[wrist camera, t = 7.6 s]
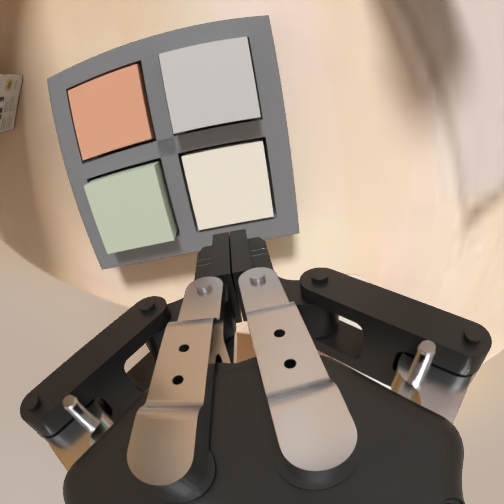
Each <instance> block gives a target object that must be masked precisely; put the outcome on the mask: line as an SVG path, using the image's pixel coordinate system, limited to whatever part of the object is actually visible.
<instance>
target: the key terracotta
mask: <svg viewBox="0 0 504 504" xmlns="http://www.w3.org/2000/svg"><path fill="white" fill-rule="evenodd" d="M68 95H69V101H70V106H71V111H72V116H73V121H74V126H75V130H76V134H77V139H78V143H79V147H80V151H81V155H82V159H83V160H86V159H88V158H91V157H94V156H97V155H100V154H103V153H106V152H109V151H112V150H115V149H118V148H121V147H125V146H128V145H131V144H135V143H138V142H142V141H145V140H149V139H152V138H154V137H156V135H155V130H154V126H153V121H152V116H151V111H150V106H149V101H148V96H147V91H146V86H145V80H144V75H143V69H142V66H141V65H139V64H135V65H132V66H129V67H126V68H123V69H120V70H117V71H114V72H112V73H109V74H106V75H104V76H101V77H99V78H96V79H94V80H91V81H89V82H87V83H84V84H82V85H80V86H77V87H75V88H73V89H71V90H69V91H68Z"/></svg>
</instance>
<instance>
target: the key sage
mask: <svg viewBox="0 0 504 504" xmlns="http://www.w3.org/2000/svg"><path fill="white" fill-rule="evenodd" d="M84 189H85V192H86V195H87V198H88V201H89V204H90V207H91V210H92V213H93V216H94V219H95V222H96V225H97V228H98V230H99V233H100V236H101V238H102V241H103V244H104V246H105V249H106V251H107V254H111V253H115V252H120V251H125V250H129V249H134V248H139V247H144V246H149V245H154V244H159V243H164V242H169V241H174V240H175V237H176V234H177V231H178V226H177V222H176V219H175V215H174V211H173V207H172V204H171V200H170V196H169V192H168V188H167V184H166V180H165V176H164V172H163V168H162V164H161V160H157V161H154V162H150V163H146V164H142V165H138V166H135V167H131V168H128V169H124V170H121V171H117V172H114V173H111V174H107V175H104V176H101V177H98V178H95V179H93V180H92V181H90V182H89V183H87V184H86V185H84Z"/></svg>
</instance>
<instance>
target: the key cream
mask: <svg viewBox="0 0 504 504" xmlns="http://www.w3.org/2000/svg"><path fill="white" fill-rule="evenodd" d="M182 162H183V166H184V171H185V175H186V180H187V184H188V188H189V192H190V197H191V201H192V205H193V209H194V213H195V217H196V221H197V225H198V229H199V230H203V229H208V228H213V227H219V226H224V225H229V224H235V223H240V222H246V221H251V220H257V219H263V218H268V217H274V215H273V208H272V200H271V193H270V186H269V179H268V172H267V165H266V159H265V152H264V145H263V141H262V140H261V139H260V138H258V139H251V140H245V141H239V142H233V143H228V144H222V145H217V146H212V147H207V148H202V149H198V150H193V151H188V152H185V153H184V154H183V155H182Z"/></svg>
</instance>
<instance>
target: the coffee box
mask: <svg viewBox="0 0 504 504" xmlns="http://www.w3.org/2000/svg"><path fill="white" fill-rule="evenodd" d="M22 79H23V76H22V75H17V74H0V133H2V132H6V131H10V130H13V129H14V123H15V116H16V110H17V104H18V98H19V93H20V88H21V84H22Z"/></svg>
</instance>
